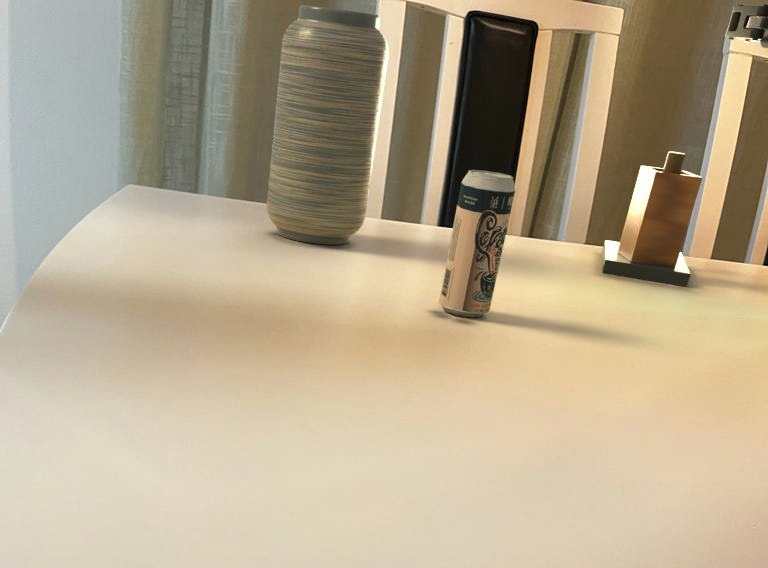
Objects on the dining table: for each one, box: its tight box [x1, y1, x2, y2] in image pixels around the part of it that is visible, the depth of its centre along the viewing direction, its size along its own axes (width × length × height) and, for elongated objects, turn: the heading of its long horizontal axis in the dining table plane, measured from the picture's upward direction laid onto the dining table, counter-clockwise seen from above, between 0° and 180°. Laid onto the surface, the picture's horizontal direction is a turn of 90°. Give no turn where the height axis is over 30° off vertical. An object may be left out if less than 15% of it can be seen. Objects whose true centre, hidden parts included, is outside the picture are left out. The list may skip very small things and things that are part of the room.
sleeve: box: [617, 165, 703, 267], centre depth 121 cm, size 6×6×10 cm
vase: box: [266, 4, 390, 246], centre depth 113 cm, size 12×12×23 cm
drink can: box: [438, 169, 516, 318], centre depth 92 cm, size 5×5×12 cm
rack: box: [601, 151, 692, 287], centre depth 123 cm, size 10×16×14 cm, turn 165°
